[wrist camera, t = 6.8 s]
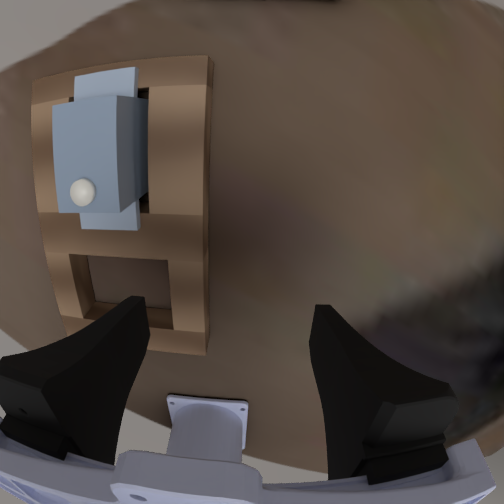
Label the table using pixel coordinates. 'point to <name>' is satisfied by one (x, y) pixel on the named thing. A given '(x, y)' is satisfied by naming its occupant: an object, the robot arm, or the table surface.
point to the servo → (102, 150)
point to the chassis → (151, 213)
